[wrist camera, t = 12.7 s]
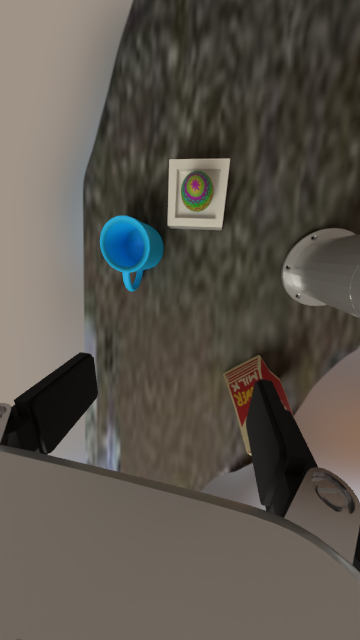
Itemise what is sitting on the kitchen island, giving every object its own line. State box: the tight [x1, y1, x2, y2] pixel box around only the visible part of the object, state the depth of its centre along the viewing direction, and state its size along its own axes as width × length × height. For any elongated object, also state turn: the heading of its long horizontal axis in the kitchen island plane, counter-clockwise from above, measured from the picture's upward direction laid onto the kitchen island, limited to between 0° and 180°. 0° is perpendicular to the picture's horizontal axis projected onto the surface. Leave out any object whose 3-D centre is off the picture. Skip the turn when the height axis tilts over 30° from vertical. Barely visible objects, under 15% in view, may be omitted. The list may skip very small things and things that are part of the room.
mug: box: [100, 216, 163, 291], centre depth 33 cm, size 12×8×8 cm
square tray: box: [168, 158, 230, 230], centre depth 30 cm, size 9×9×3 cm
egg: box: [181, 171, 214, 212], centre depth 27 cm, size 5×5×6 cm
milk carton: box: [223, 355, 294, 455], centre depth 32 cm, size 9×9×20 cm
